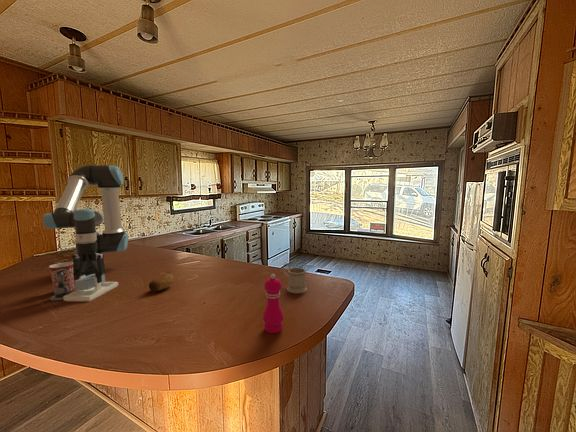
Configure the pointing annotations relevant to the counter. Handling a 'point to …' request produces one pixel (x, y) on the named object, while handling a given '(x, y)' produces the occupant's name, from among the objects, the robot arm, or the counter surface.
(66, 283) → the mug
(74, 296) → the tray
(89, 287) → the windowed blue block
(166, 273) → the potato
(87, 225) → the robot arm
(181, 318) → the counter surface
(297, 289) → the mug
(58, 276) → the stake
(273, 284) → the pepper mill
